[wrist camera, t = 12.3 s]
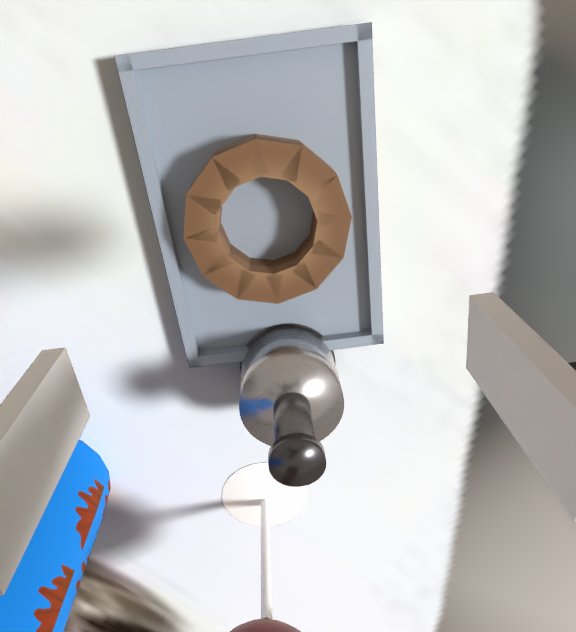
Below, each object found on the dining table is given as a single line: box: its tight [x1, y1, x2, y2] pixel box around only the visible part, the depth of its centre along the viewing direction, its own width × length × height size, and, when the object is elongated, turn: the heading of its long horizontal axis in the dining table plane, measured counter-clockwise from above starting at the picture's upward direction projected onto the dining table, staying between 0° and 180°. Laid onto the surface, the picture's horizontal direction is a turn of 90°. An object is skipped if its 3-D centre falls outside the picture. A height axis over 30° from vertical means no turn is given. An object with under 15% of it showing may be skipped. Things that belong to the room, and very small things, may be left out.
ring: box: [184, 134, 352, 304], centre depth 31 cm, size 10×10×2 cm
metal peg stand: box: [239, 323, 344, 487], centre depth 33 cm, size 7×7×11 cm
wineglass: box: [222, 462, 308, 632], centre depth 35 cm, size 8×9×20 cm
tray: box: [115, 22, 384, 368], centre depth 32 cm, size 14×20×2 cm
